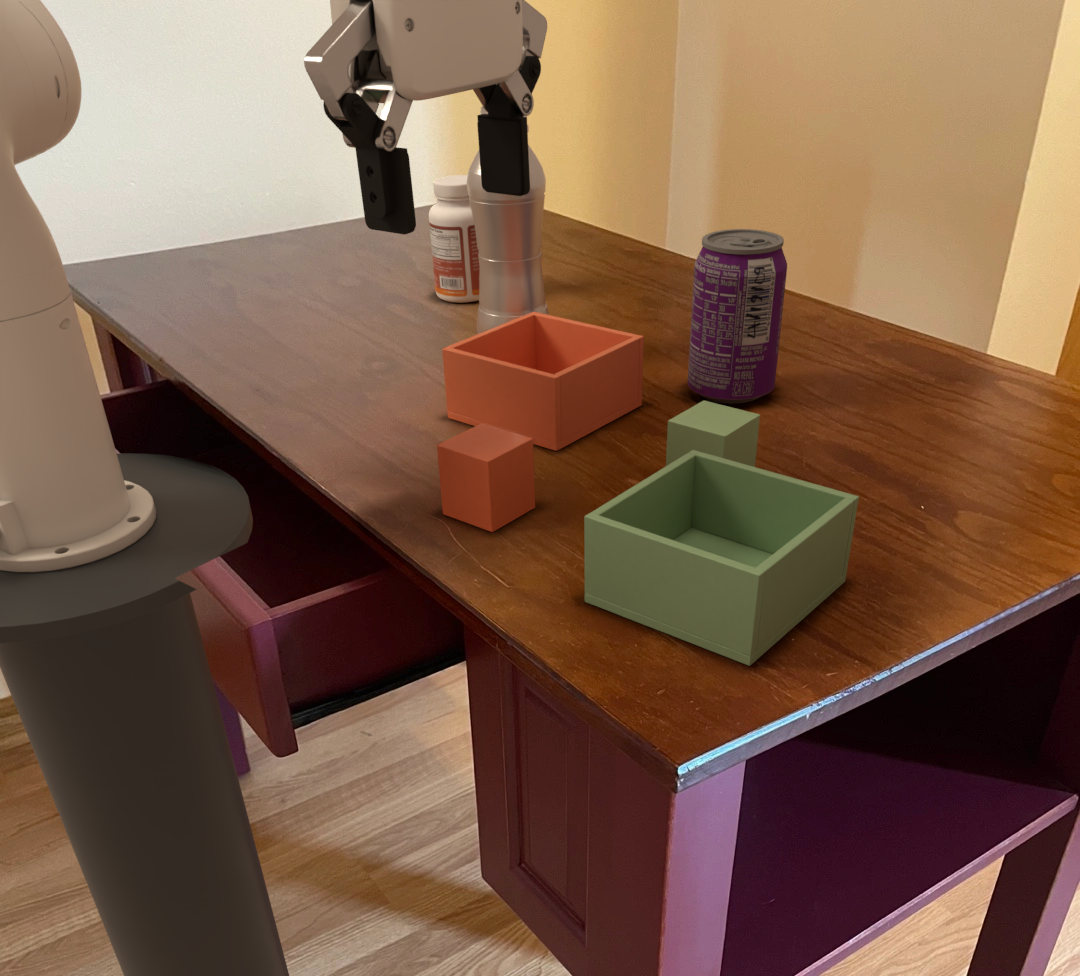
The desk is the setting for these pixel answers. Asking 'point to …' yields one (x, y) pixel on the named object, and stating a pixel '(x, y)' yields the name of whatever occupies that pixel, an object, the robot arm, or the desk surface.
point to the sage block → (714, 433)
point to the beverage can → (736, 315)
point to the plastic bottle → (508, 247)
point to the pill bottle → (454, 241)
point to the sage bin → (718, 553)
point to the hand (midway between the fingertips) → (451, 210)
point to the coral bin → (544, 378)
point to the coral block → (487, 476)
